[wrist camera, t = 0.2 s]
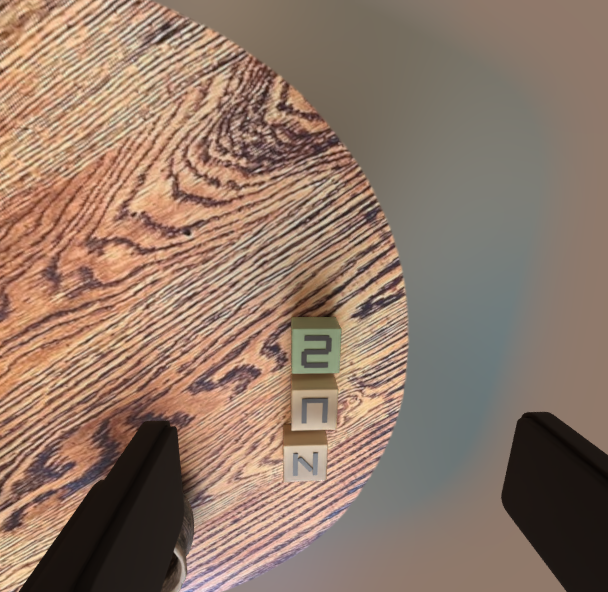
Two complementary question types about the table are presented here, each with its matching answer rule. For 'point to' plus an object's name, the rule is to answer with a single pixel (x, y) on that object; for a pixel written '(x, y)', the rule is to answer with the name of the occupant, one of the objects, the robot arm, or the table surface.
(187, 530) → the mug
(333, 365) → the green number block
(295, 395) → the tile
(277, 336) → the table surface
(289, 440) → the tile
